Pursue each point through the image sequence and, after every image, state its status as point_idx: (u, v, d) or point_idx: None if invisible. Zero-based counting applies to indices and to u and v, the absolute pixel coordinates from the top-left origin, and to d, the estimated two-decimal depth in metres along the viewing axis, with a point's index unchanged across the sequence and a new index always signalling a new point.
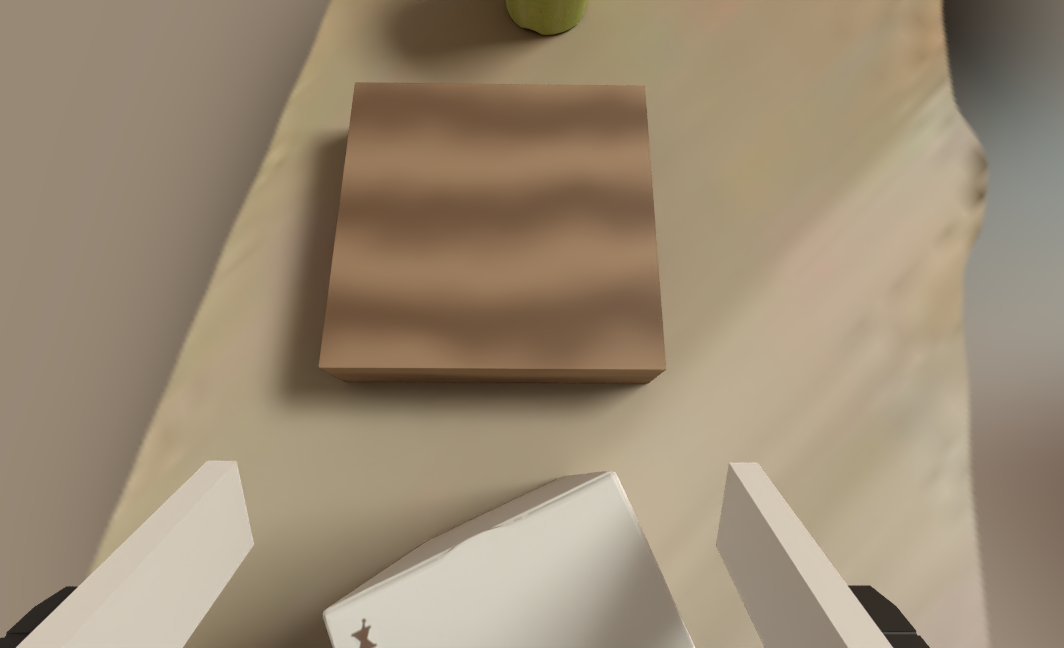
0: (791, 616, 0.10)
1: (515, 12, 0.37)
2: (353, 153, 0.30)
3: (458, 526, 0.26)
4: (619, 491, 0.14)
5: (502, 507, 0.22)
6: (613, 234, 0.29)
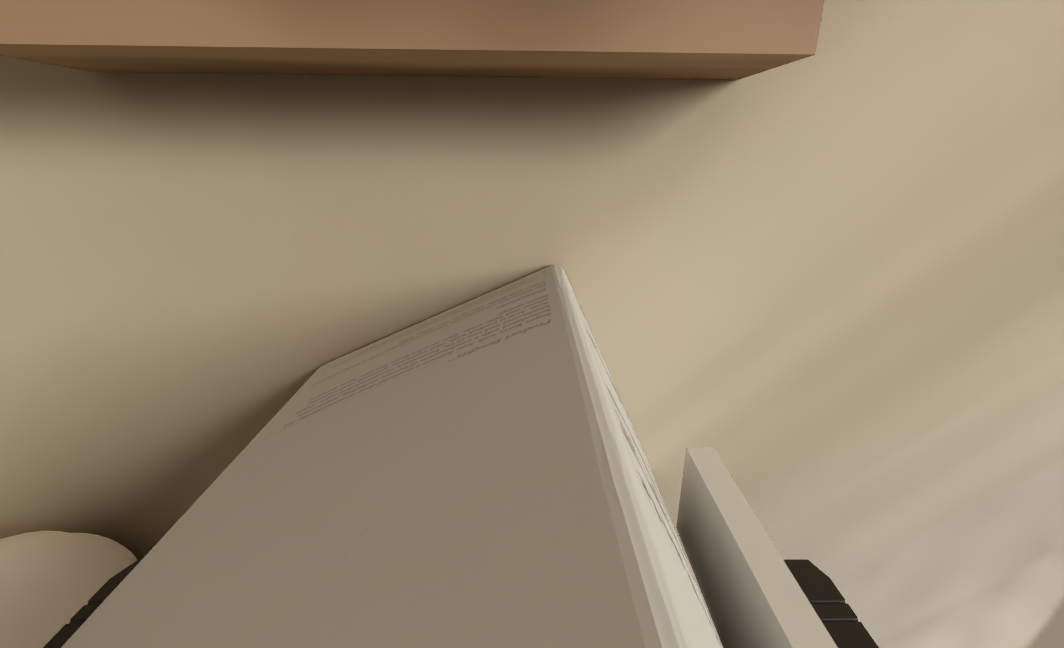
0: (732, 588, 0.11)
1: None
2: None
3: (360, 364, 0.14)
4: None
5: (407, 401, 0.10)
6: None
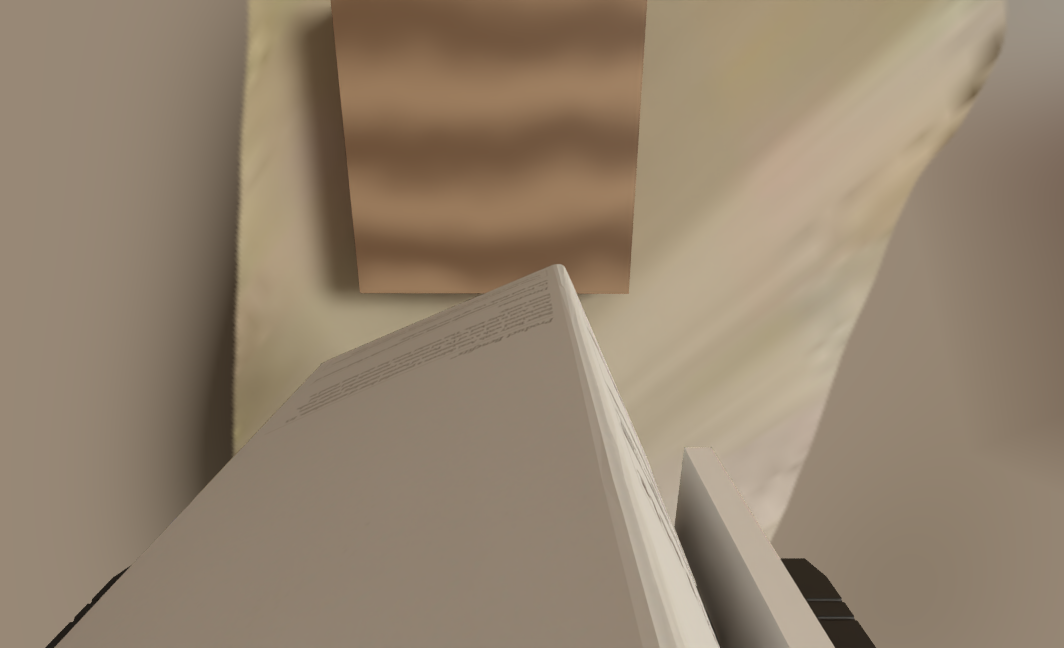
0: (729, 587, 0.11)
1: None
2: (346, 82, 0.30)
3: (362, 361, 0.15)
4: None
5: (408, 398, 0.10)
6: (597, 173, 0.32)
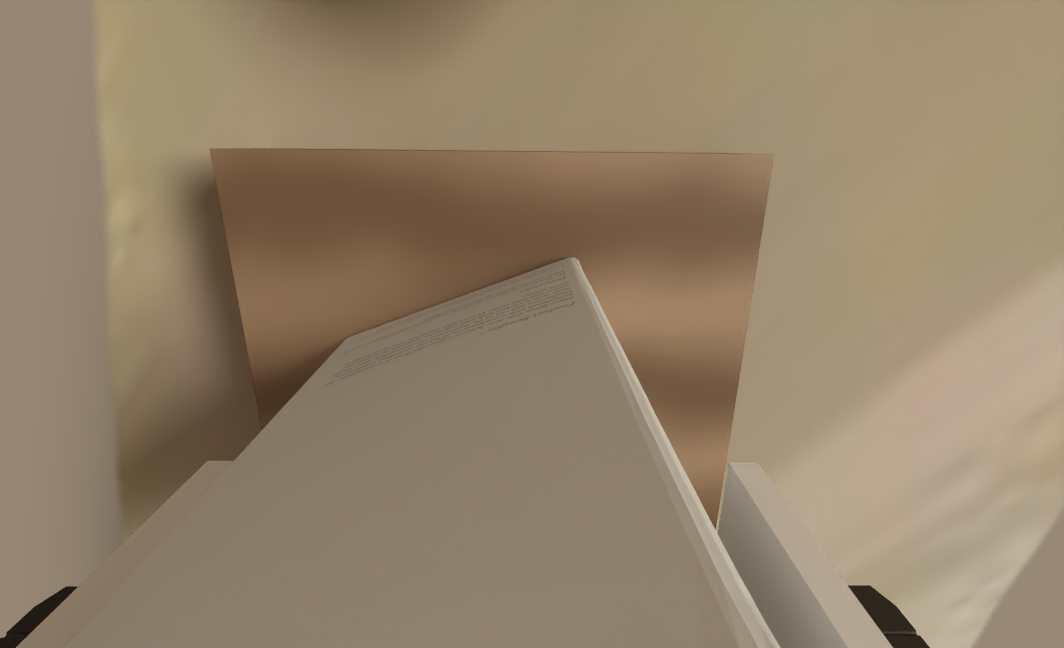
0: (791, 616, 0.10)
1: None
2: (251, 304, 0.18)
3: (389, 336, 0.16)
4: None
5: (447, 364, 0.11)
6: (668, 433, 0.20)
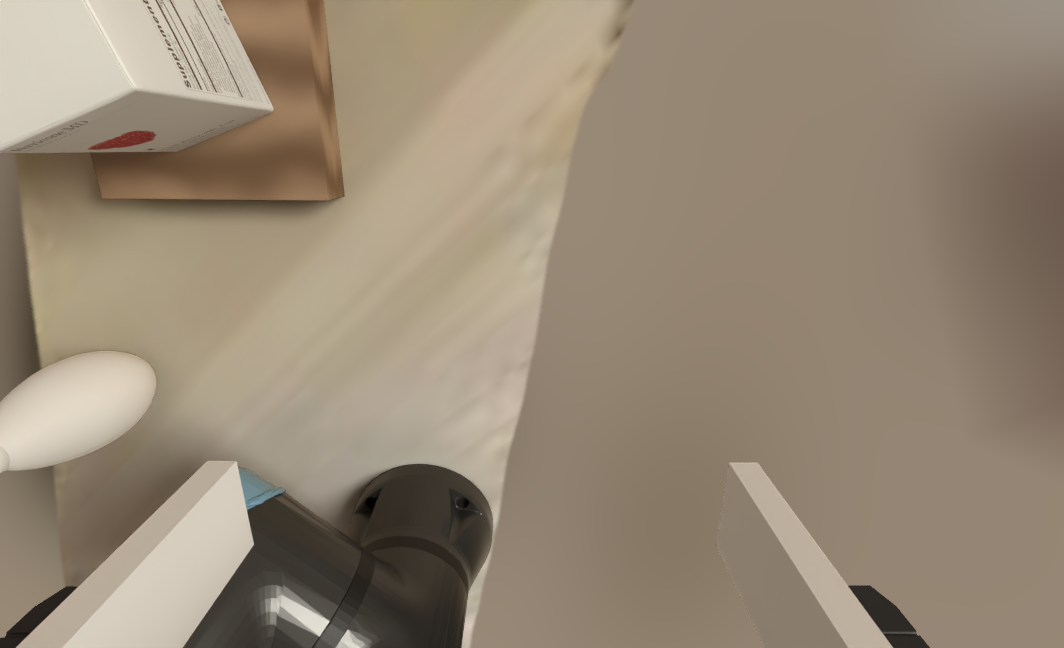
0: (791, 616, 0.10)
1: None
2: None
3: None
4: None
5: None
6: (283, 95, 0.38)
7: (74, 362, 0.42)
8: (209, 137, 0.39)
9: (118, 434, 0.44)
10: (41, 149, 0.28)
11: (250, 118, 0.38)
